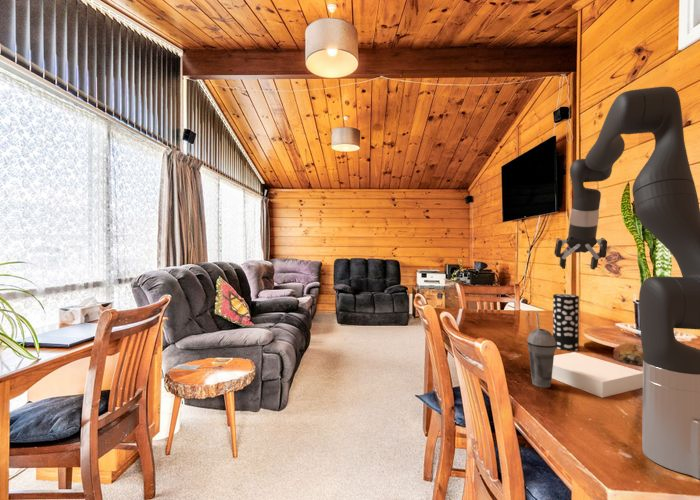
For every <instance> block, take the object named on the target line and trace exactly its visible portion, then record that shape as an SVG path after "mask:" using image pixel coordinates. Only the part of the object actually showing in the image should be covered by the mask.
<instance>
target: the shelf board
mask: <svg viewBox="0 0 700 500" xmlns="http://www.w3.org/2000/svg"><path fill="white" fill-rule="evenodd" d="M552 379H553V380H555V381H558V382H561V383H562V384H566V385H568V386H571V387H573V388H577V389H579V390H582V391H583V392H587V393H589V394H592V395H594V396H597V397H600V398H602V399H603V398H607V397H611V396H614V395H618V394H619V395H620V394H622V393H623V394H624V393H626V392H631V391H636V390H639V389H643V370H638V369H634V368H630V367H627V366H625V365H624V366H623V365H620V364H617V363H614V362H611V361H607V360H603V359H599V358H596V357H593V356H589V355H586V354H584V353H583V354H582V353H579V352H576V351H571V352H568V353H562V354H560V353H559V354H554V360H553V370H552Z"/></svg>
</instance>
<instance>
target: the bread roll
mask: <svg viewBox="0 0 700 500" xmlns="http://www.w3.org/2000/svg"><path fill="white" fill-rule="evenodd" d="M612 354H613V355H612V356H613V358H614V360H616V361H617V362H620V363H623V364H626V365H631V366H632V365H634V366H643V349H642V345H640V344H639V343H634V342H626V341H625V342H623V343H620V344H619V345H617V346H615V347H614V349H613V353H612Z"/></svg>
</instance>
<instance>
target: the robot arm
mask: <svg viewBox="0 0 700 500" xmlns="http://www.w3.org/2000/svg"><path fill="white" fill-rule="evenodd" d="M683 122H684V121H683V113H682V105H681V98H680V95H679V93H678V91H677V90H676V89H675V88H674V87H672V86H656V87H655V86H654V87H647V88H639V89H632V90H631V89H630V90H627V91H623V92H622V93H620V94H618V95H617V97H616V98H615V99H614V100H613V103H611V106H610V107H609V110H608V112H607V114H606V117H605V119H604V121H603V124H602V126H601V129H600V131H599V135H598V137H597V140H596V142H595V143H594V144H593V145H592V147H591V148H590V149H589V151H588V152H587V153H586V156H585V157H584V158H579V159H575V160H574V161H573V162H572V163H571V165H570V168H569V176H570V180H571V184H572V191H573V201H572V209H571V213H570V216H569V217H570V218H569V227H568V236H567V238H566V239H562V238H559V237H557V238H556V241H555V245H554V246H555V247H554V255H555V257H556V258H559V266H560V268H562V269H563V270H564V269H566V267H567V266H566V265H567V264H566V263H567V258H568V257H569V256H570V255H572V254H573V253H584V254H586V253H588V252H589V253H590V255H592V256H591V258H590V259H591V260H590V264H589V265H590V269H591V270H593V271H594V270H596V269H597V268H598V264H599V259H601V258H605V259H606V257H607V253H608V252H607V250H608V241H607V239H605V238H604V237H601V238H598V239H597V232H598V226H599V219H600V211H599V210H600V205H601V196H602V194H601V191H600V190H598V189H595V188H590V187H585V186H584V185H585V184H584V183H594V182H603V181H606V180H608V179H609V178H610V177H611V175H612V172H613V171H612V170H613V167H614V164H615V163H616V162H617V161H618V160H619V159H620V158H621V157H622V155H623V153H624V151H625V146H626V145H625V140H624V138H623V136H622V135H636V134H646V133H649V134H650V133H651V134H653V137H654V141H655V143H654V149H653V151H652V153H651V155H650V156H649V158H648V160H647V161H646V163H645V164H644V166H643V167H642V168H641V170H640V171H639V172H638V175H637V176H636V177H635V180H634V182H633V185H632V198H633V203H634V208H635V209H634V210H635V215H636V217H637V219H638V221H639V222H640V223H641V225H642V226H643V227H644V228H645V230H647V231H648V232H649V233H650V234H651V235H652V236H653V237H654V238H655V239H656V240H658V241H659V242H660V243H661V244H662V245H663V247H665V248H666V249H667V250H668V251H669V252H670V254H671V255H672V256H673V258H674V260H675V261H676V263H677V266H678V267H679V271H680V273H681V276H649V277H647V278H646V279H645V280H644V281H643V282H642V283H641V286H640V288H639V295H638V305H639V318H640V319H639V321H640V322H639V323H640V341H641V346H642V349H643V365H642V372H643V388H642V415H641V416H642V417H641V418H642V420H641V421H642V424H641V425H642V429H641V431H642V434H641V435H642V436H641V441H642V443H641V444H642V448H641V449H642V453H643V454H644V455H645V457H646V458H648V459H649V460H651V461H652V462H654V463H656V464H658V465H660V466H661V467H663V468H666V469H669V470H671V471H675V472H677V473H681V474H684V475H689V476H691V477H694V478H696V479H698V480H700V349H699V348H696V347H693V346H691V345H687V344H685V343H682V342H681V341H679V340H678V339H676V336H675V330H674V329H681V330H682V329H684V330H700V203H699V197H698V193H697V190H696V184H695V180H694V177H693V173H692V170H691V166H690V161H689V157H688V153H687V152H688V151H687V147H686V143H685V133H684V124H683ZM565 244H567V246H566V247H565V248H564V250H563V251H562V247H564V245H565ZM597 244H598V245H597ZM596 245H597V246H599V252H598V253H597V252H596V251H595V250H594V247H595V246H596ZM562 269H561V270H562Z"/></svg>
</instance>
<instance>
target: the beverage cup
mask: <svg viewBox="0 0 700 500" xmlns="http://www.w3.org/2000/svg"><path fill="white" fill-rule="evenodd" d="M535 316H536V326H537V328H536V329H534V330H532V331H531V332H530V333H529V334H528V336H527V341H526V343H527V348H528V354H529V364H530V374H531V375H530V376H531V377H530V378H531V382H532V385H533V386H535V387H538V388H541V389H542V388H544V389H545V388H551V387H552V386H551V385H552V384H551V383H552V379H553V378H552V370H553V360H554V355H555V354H556V350H557V348H556V341H555V338H554V337H553V333H552V332H551V331H549V330H547V329H543V328H541V327H540V326H541V325H540V320H539V313H535Z"/></svg>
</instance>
